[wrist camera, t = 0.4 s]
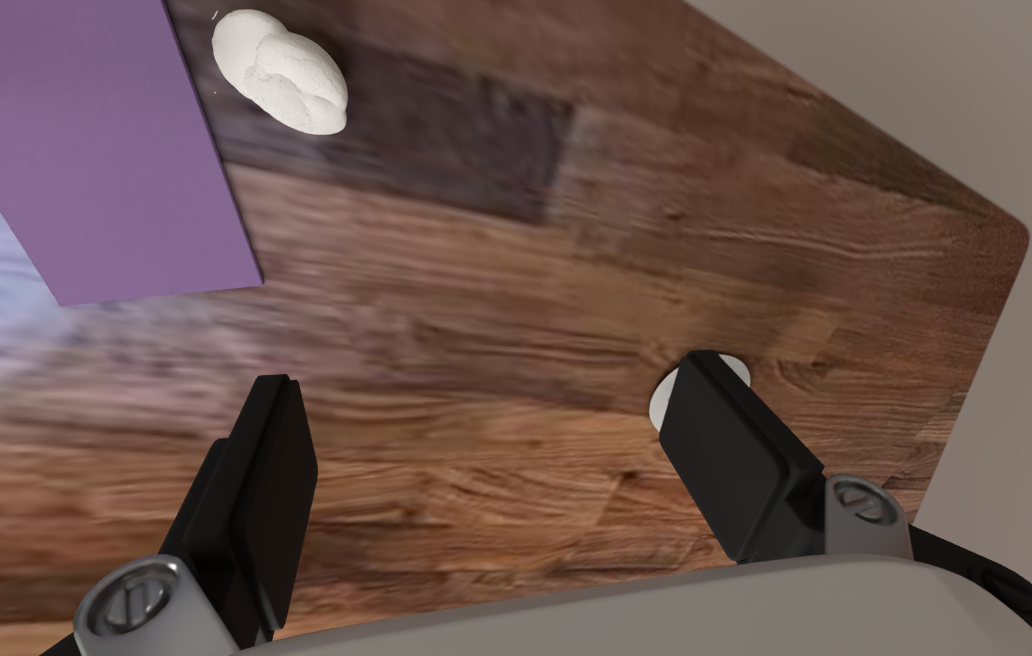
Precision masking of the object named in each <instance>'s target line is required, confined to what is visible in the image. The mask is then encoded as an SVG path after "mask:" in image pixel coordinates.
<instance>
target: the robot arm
mask: <svg viewBox="0 0 1032 656" xmlns="http://www.w3.org/2000/svg"><path fill="white" fill-rule="evenodd" d="M659 440H660V444H661V446H662V448H663V450H664V451H665V453H666V455H667V456H668V458H669V460H670V461H671V463H672V465H673V466H674V468H675V470H676V471H677V473H678V475H679V476H680V478H681V480H682V481H683V483H684V485H685V486H686V488H687V490H688V491H689V493H690V495H691V496H692V498H693V500H694V501H695V503H696V505H697V506H698V508H699V510H700V511H701V513H702V515H703V516H704V518H705V520H706V521H707V523H708V525H709V526H710V528H711V530H712V531H713V533H714V535H715V536H716V538H717V540H718V541H719V543H720V545H721V546H722V548H723V550H724V551H725V553H726V555H727V556H728V557H729V558H730V559H731V560H733V561H736V563H737V564H738V565H734V566H728V567H721V568H714V569H707V570H700V571H693V572H687V573H680V574H673V575H666V576H659V577H652V578H646V579H639V580H633V581H626V582H619V583H613V584H606V585H600V586H593V587H586V588H580V589H573V590H567V591H560V592H554V593H547V594H541V595H534V596H528V597H521V598H515V599H508V600H502V601H496V602H489V603H483V604H477V605H470V606H464V607H458V608H451V609H445V610H439V611H432V612H426V613H420V614H413V615H407V616H401V617H395V618H389V619H384V620H378V621H372V622H366V623H361V624H355V625H349V626H344V627H338V628H332V629H326V630H321V631H315V632H311V633H306V634H302V635H297V636H293V637H288V638H284V639H279V640H275V641H272V639H273V635H274V631H275V630H278V629H282V628H283V627H284V625H285V622H286V618H287V614H288V609H289V605H290V600H291V596H292V591H293V587H294V582H295V578H296V573H297V569H298V564H299V560H300V555H301V551H302V546H303V541H304V537H305V532H306V528H307V523H308V519H309V514H310V510H311V505H312V501H313V496H314V492H315V487H316V483H317V476H318V466H317V460H316V456H315V452H314V447H313V443H312V439H311V434H310V430H309V425H308V421H307V417H306V412H305V408H304V403H303V399H302V395H301V390H300V386H299V382H298V381H297V380H290V378H289V376H288V375H287V374H278V375H260V376H258V377H257V378H256V380H255V382H254V384H253V387H252V389H251V391H250V393H249V395H248V397H247V400H246V402H245V404H244V406H243V408H242V410H241V413H240V415H239V417H238V419H237V421H236V423H235V426H234V428H233V430H232V432H231V434H230V436H229V438H221V439H217V440H216V441H215V442H214V443H213V445H212V446H211V448H210V450H209V452H208V454H207V456H206V458H205V460H204V462H203V464H202V466H201V468H200V470H199V472H198V474H197V476H196V478H195V480H194V482H193V484H192V486H191V488H190V490H189V492H188V494H187V496H186V498H185V500H184V502H183V504H182V506H181V508H180V510H179V512H178V514H177V516H176V518H175V520H174V522H173V524H172V526H171V528H170V530H169V532H168V534H167V536H166V538H165V540H164V542H163V544H162V546H161V548H160V550H159V552H158V554H157V555H149V556H146V557H142V558H139V559H135V560H133V561H131V562H129V563H127V564H125V565H123V566H121V567H119V568H117V569H116V570H114V571H113V572H111V573H110V574H109V575H107V576H106V577H104V578H103V579H102V580H101V581H100V582H99V583H98V584H97V585H95V586H94V587H93V588H92V589H91V590H90V591H89V592H88V594H87V595H86V597H85V598H84V599H83V601H82V602H81V604H80V605H79V607H78V609H77V611H76V614H75V617H74V620H73V633H71V634H70V635H68V636H67V637H65V638H64V639H62V640H61V641H60V642H58V643H57V644H55V645H54V646H52V647H51V648H49V649H48V650H47V651H45V652H44V653H42V654H41V655H39V656H1032V584H1031V583H1030V582H1029V581H1027V580H1026V579H1024V578H1023V577H1021V576H1020V575H1018V574H1017V573H1016V572H1014V571H1012V570H1010V569H1008V568H1006V567H1004V566H1002V565H1001V564H999V563H996V562H994V561H992V560H990V559H987V558H985V557H983V556H980V555H978V554H976V553H973V552H971V551H969V550H967V549H964V548H962V547H960V546H958V545H955V544H953V543H951V542H948V541H946V540H944V539H942V538H939V537H937V536H935V535H933V534H930V533H928V532H926V531H923V530H921V529H919V528H917V527H914V526H912V525H910V524H908V523H907V518H906V515H905V513H904V510H903V508H902V507H901V506H900V504H899V503H898V502H897V501H896V499H895V498H893V497H892V496H891V495H890V494H889V493H888V492H887V491H885V490H884V489H882V488H881V487H879V486H878V485H876V484H875V483H872V482H870V481H868V480H866V479H864V478H861V477H857V476H854V475H849V474H837V475H832V476H831V477H830V478H828V479H827V478H826V477H825V476H824V475H823V474H822V473H821V472H822V471H823V469H824V467H825V466H824V465H823V464H822V463H821V462H820V461H819V460H818V459H817V458H816V457H815V456H814V455H813V454H812V453H811V451H810V450H809V449H808V448H807V447H806V446H805V445H804V444H803V443H802V442H801V441H800V440H799V439H798V438H797V437H796V436H795V435H794V434H793V433H792V431H791V430H790V429H789V428H788V427H787V426H786V425H785V424H784V423H783V422H782V421H781V420H780V419H779V418H778V417H777V416H776V415H775V414H774V413H773V411H772V410H771V409H770V408H769V407H768V406H767V405H766V404H765V403H764V402H763V401H762V400H761V399H760V398H759V397H758V396H757V395H756V394H755V393H754V392H753V390H752V389H751V388H750V387H749V386H748V385H747V384H746V383H745V382H744V381H743V380H742V379H741V378H740V377H739V376H738V375H737V374H736V373H735V372H734V370H733V369H732V368H731V367H730V366H729V365H728V364H727V363H726V362H725V361H724V360H723V359H722V358H721V357H720V356H719V355H718V354H717V353H716V352H715V351H714V350H697V351H690V352H689V353H688V354H687V356H686V357H683V358H682V359H681V361H680V365H679V368H678V371H677V375H676V378H675V382H674V385H673V388H672V392H671V395H670V398H669V402H668V405H667V409H666V412H665V415H664V419H663V422H662V425H661V429H660V433H659Z"/></svg>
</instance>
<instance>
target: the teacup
mask: <svg viewBox="0 0 1032 656" xmlns="http://www.w3.org/2000/svg"><path fill="white" fill-rule="evenodd" d="M719 356H720V357H721V358H722V359H723V360H724V361H725V362H726V363H727V364H728V365H729V366H730V367H731V368H732V369H733V370H734V372H735V373H736V374H737V375H738V376H739V377H740V378H741V379H742V380H743V381H744V382H745V383H746V384H747V385H748V386H749V387H750V375H749V372H748V369H747V367H746V366H745V365H744V364H743V363H742V362H741V361H740V360H738V359H736V358H734V357H732V356H728V355H719ZM678 368H679V367H678ZM678 368H677V369H676V370H674V371H673V372H672V373H670V374H669V375H668V376H667V377H666V378H665V379H664V380H663V381H662V382H661V384H660V385H659V386H658V388H657V389H656V391H655V393H654V395H653V397H652V400H651V403H650V410H649V413H650V419H651V421H652V423H653V425H654V426H655V428H656V429H658V430H659V431H660V429H661V425H662V422H663V419H664V415H665V412H666V409H667V405H668V402H669V398H670V395H671V392H672V388H673V385H674V382H675V378H676V375H677V371H678Z"/></svg>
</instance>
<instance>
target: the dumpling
mask: <svg viewBox="0 0 1032 656" xmlns="http://www.w3.org/2000/svg"><path fill="white" fill-rule="evenodd" d="M217 12H218V11H216V13H215V15H214V17H215V16H216V14H217ZM214 17H213V18H212V19H214ZM212 45H213V51H214V53H213V54H214V56H215V60H216V62H217V64H218V66H219V68H220V71H221V72H222V74H223V75H224V77H225V78H226V79H227V80H228V81H229V82H230V83H231V84H232V85H233V86H234V87H235V88H236V89H237V90H238V91H239V92H240V93H241V94H243V95H244V96H246V97H247V98H249V99H252V100H253V101H254V102H255V103H256V104H258V105H259V106H260V107H261V108H263V110H265V111H266V112H268V113H269V114H270V115H272V116H273V117H274V118H275V119H277V120H279V121H280V122H282V123H283V124H286V125H287V126H289V127H292V128H294V129H296V130H299V131H302V132H305V133H309V134H313V135H314V134H316V135H318V134H321V135H322V134H334V133H337V132H339V131H341V130H342V129H343V128H344V127H345V125H346V120H347V116H346V110H345V109H346V106H347V101H348V93H347V86H346V83H345V80H344V78H343V75H342V73H341V71H340V69H339V68H338V66H337V64H336V63H335V62H334V61H333V59H332V58H331V57H330V56H329V54H328V53H327V52H326V51H325V50H324V49H323V48H321V47H320V46H319V45H318V44H316V43H315V42H313V41H312V40H310V39H308V38H306V37H304V36H301V35H298V34H295V33H291V32H288V31H287V29H286V28H285V26H284V25H283V24H282V23H281V22H280V21H278V20H277V19H276V18H274V17H272V16H271V15H268V14H266V13H263V12H261V11H257V10H252V9H250V10H248V9H244V10H237V11H234V12H232V13H229V14H227V15H226V16H225V17H224V18H222V20H220V21H219V23H218V24H217V25H216V28H215V31H214V36H213V38H212ZM214 93H216V92H214Z"/></svg>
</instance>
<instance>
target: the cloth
mask: <svg viewBox="0 0 1032 656" xmlns="http://www.w3.org/2000/svg"><path fill="white" fill-rule="evenodd" d="M0 212H1V214H2V215H3V217H4V219H5V220H6V222H7V223H8V225H9V226H10V228H11V230H12V231H13V233H14V234H15V236H16V238H17V239H18V241H19V242H20V244H21V245H22V247H23V249H24V250H25V252H26V253H27V255H28V256H29V258H30V260H31V261H32V263H33V264H34V266H35V267H36V269H37V271H38V272H39V274H40V275H41V277H42V278H43V280H44V282H45V283H46V285H47V286H48V288H49V290H50V291H51V293H52V294H53V296H54V297H55V299H56V301H57V302H58V304H59V305H60V306H68V305H77V304H87V303H97V302H106V301H116V300H125V299H135V298H145V297H154V296H164V295H173V294H183V293H193V292H202V291H212V290H222V289H231V288H241V287H250V286H260V285H263V284H264V281H263V278H262V275H261V272H260V269H259V267H258V264H257V261H256V258H255V255H254V253H253V250H252V247H251V244H250V241H249V238H248V236H247V233H246V230H245V227H244V224H243V222H242V219H241V216H240V213H239V210H238V208H237V205H236V202H235V199H234V196H233V193H232V191H231V188H230V185H229V182H228V179H227V177H226V174H225V171H224V168H223V165H222V162H221V160H220V157H219V154H218V151H217V148H216V146H215V143H214V140H213V137H212V134H211V132H210V129H209V126H208V123H207V120H206V117H205V115H204V112H203V109H202V106H201V103H200V101H199V98H198V95H197V92H196V89H195V87H194V84H193V81H192V78H191V75H190V72H189V70H188V67H187V64H186V61H185V58H184V56H183V53H182V50H181V47H180V44H179V41H178V39H177V36H176V33H175V30H174V27H173V25H172V22H171V19H170V16H169V13H168V11H167V8H166V5H165V2H164V0H0Z"/></svg>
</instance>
